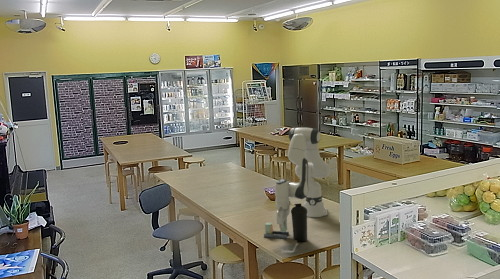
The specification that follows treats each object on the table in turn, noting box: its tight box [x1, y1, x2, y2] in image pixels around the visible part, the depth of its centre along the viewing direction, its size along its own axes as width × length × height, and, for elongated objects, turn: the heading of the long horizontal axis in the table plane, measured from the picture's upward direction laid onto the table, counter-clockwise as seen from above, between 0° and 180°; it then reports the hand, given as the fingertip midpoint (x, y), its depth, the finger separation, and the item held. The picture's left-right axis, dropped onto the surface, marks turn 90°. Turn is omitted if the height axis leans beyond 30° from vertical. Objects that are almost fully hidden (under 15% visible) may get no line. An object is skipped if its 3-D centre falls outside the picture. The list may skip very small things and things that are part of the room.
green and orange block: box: [264, 222, 274, 234], centre depth 282 cm, size 4×4×8 cm
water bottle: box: [290, 203, 308, 244], centre depth 272 cm, size 10×10×23 cm
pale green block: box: [278, 217, 288, 232], centre depth 278 cm, size 4×4×8 cm
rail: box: [263, 230, 290, 241], centre depth 281 cm, size 10×15×3 cm, turn 71°
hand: (283, 225), depth 278 cm, fingers closed on pale green block, 4 cm apart
